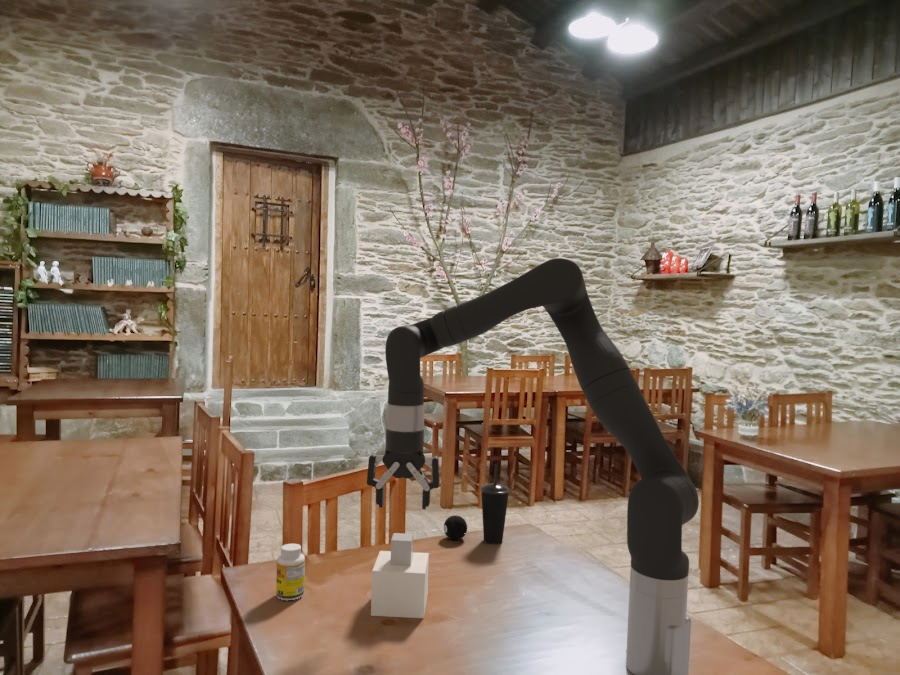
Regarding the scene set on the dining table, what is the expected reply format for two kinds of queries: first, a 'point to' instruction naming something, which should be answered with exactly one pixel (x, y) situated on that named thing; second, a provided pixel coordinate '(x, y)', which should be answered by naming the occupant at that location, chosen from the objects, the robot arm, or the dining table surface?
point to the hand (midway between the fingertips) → (402, 507)
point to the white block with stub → (400, 580)
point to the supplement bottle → (290, 572)
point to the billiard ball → (455, 527)
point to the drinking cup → (494, 510)
